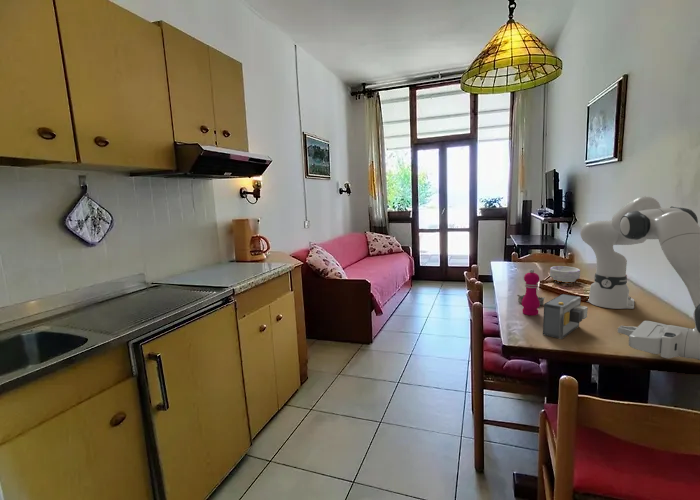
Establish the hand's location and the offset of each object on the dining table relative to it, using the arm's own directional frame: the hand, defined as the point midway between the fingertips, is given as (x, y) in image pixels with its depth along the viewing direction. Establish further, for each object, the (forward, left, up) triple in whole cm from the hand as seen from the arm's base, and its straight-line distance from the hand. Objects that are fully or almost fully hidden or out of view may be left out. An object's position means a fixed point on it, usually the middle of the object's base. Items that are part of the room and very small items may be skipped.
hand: (618, 328), depth 119 cm
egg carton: (-33, -42, -8) cm, 54 cm away
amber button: (0, -17, -2) cm, 18 cm away
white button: (-11, -15, -2) cm, 19 cm away
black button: (-6, -15, -2) cm, 16 cm away
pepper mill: (-18, -36, -7) cm, 41 cm away
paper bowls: (-87, -46, -8) cm, 98 cm away
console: (-6, -19, -7) cm, 21 cm away
